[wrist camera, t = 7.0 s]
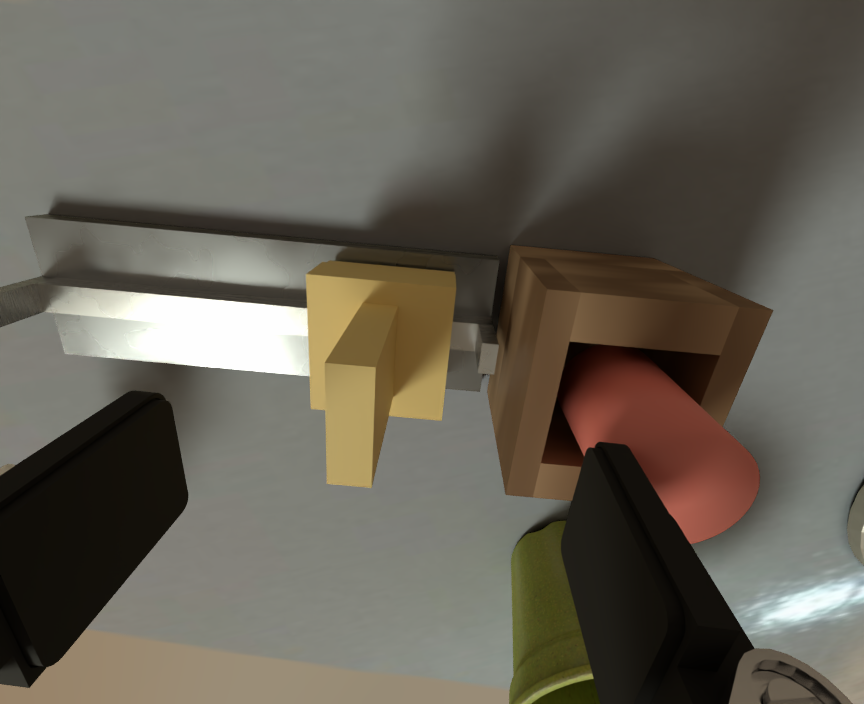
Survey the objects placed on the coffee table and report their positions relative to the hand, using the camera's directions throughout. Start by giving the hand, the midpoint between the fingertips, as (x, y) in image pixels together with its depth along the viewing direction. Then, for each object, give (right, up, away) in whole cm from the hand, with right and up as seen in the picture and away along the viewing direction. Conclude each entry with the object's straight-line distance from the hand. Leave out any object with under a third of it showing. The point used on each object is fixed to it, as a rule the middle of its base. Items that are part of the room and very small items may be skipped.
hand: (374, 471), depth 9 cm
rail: (-6, +5, +9) cm, 12 cm away
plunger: (+7, +2, +5) cm, 8 cm away
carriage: (-1, +4, +8) cm, 9 cm away
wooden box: (+7, +4, +9) cm, 12 cm away
